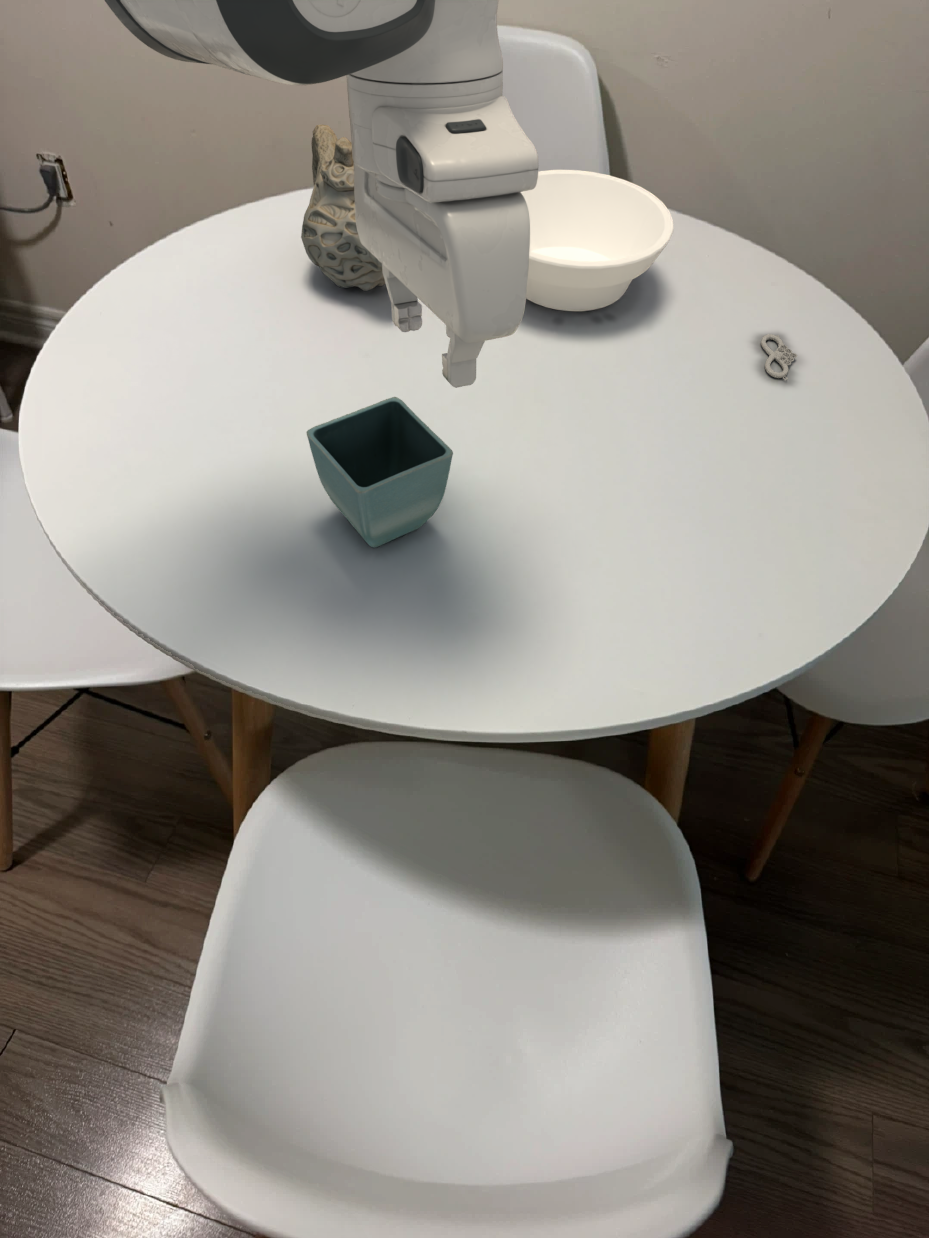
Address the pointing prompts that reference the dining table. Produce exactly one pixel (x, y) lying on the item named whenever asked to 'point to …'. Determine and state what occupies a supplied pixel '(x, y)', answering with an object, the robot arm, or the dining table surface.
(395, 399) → the flower pot
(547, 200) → the bowl
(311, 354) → the dining table surface
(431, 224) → the robot arm
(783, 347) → the charm
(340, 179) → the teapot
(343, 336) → the dining table surface
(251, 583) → the dining table surface
